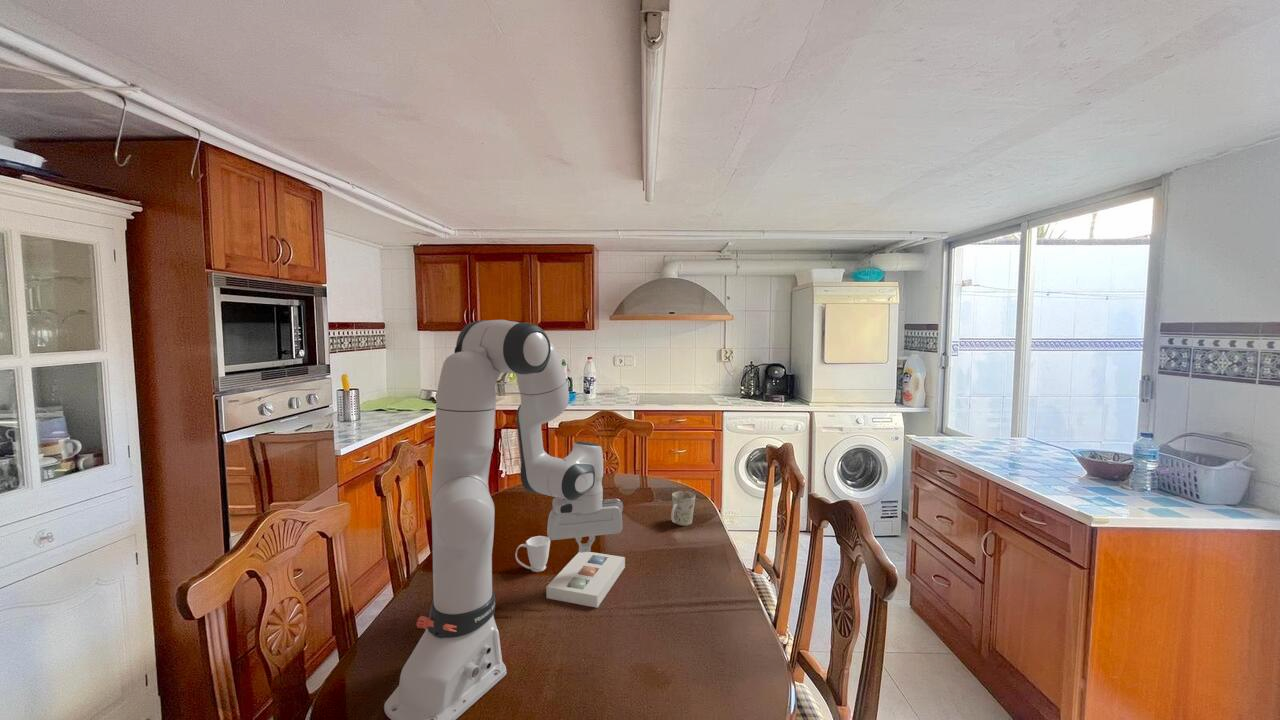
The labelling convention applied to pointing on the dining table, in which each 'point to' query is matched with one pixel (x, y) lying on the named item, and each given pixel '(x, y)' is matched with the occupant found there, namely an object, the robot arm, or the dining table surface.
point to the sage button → (578, 583)
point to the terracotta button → (588, 571)
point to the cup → (536, 553)
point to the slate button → (597, 560)
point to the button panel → (586, 579)
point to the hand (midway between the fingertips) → (584, 551)
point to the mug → (682, 507)
